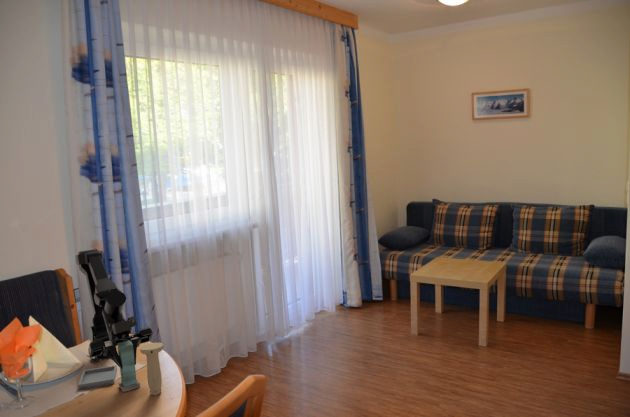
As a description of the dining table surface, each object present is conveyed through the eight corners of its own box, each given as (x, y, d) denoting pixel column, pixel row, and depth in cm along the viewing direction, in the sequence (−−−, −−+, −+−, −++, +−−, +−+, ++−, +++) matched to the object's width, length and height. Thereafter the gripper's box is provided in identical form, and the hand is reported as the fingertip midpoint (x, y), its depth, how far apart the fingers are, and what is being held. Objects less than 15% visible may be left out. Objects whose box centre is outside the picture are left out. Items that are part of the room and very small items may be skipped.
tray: (84, 374, 166) (83, 370, 166) (117, 369, 169) (116, 365, 169) (78, 389, 156) (78, 384, 156) (114, 383, 159) (113, 379, 159)
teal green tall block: (118, 385, 157) (114, 343, 155) (135, 380, 160) (130, 339, 158) (123, 392, 153) (118, 348, 151) (140, 386, 156) (135, 344, 154)
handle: (167, 395, 151) (162, 347, 149) (144, 399, 149) (139, 351, 147) (166, 387, 155) (162, 341, 153) (145, 391, 154) (140, 344, 151)
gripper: (86, 317, 151) (99, 364, 144) (148, 302, 162) (163, 346, 155) (83, 334, 158) (95, 380, 151) (142, 319, 169) (156, 361, 162)
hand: (128, 366), depth 155 cm, fingers closed on teal green tall block, 4 cm apart
